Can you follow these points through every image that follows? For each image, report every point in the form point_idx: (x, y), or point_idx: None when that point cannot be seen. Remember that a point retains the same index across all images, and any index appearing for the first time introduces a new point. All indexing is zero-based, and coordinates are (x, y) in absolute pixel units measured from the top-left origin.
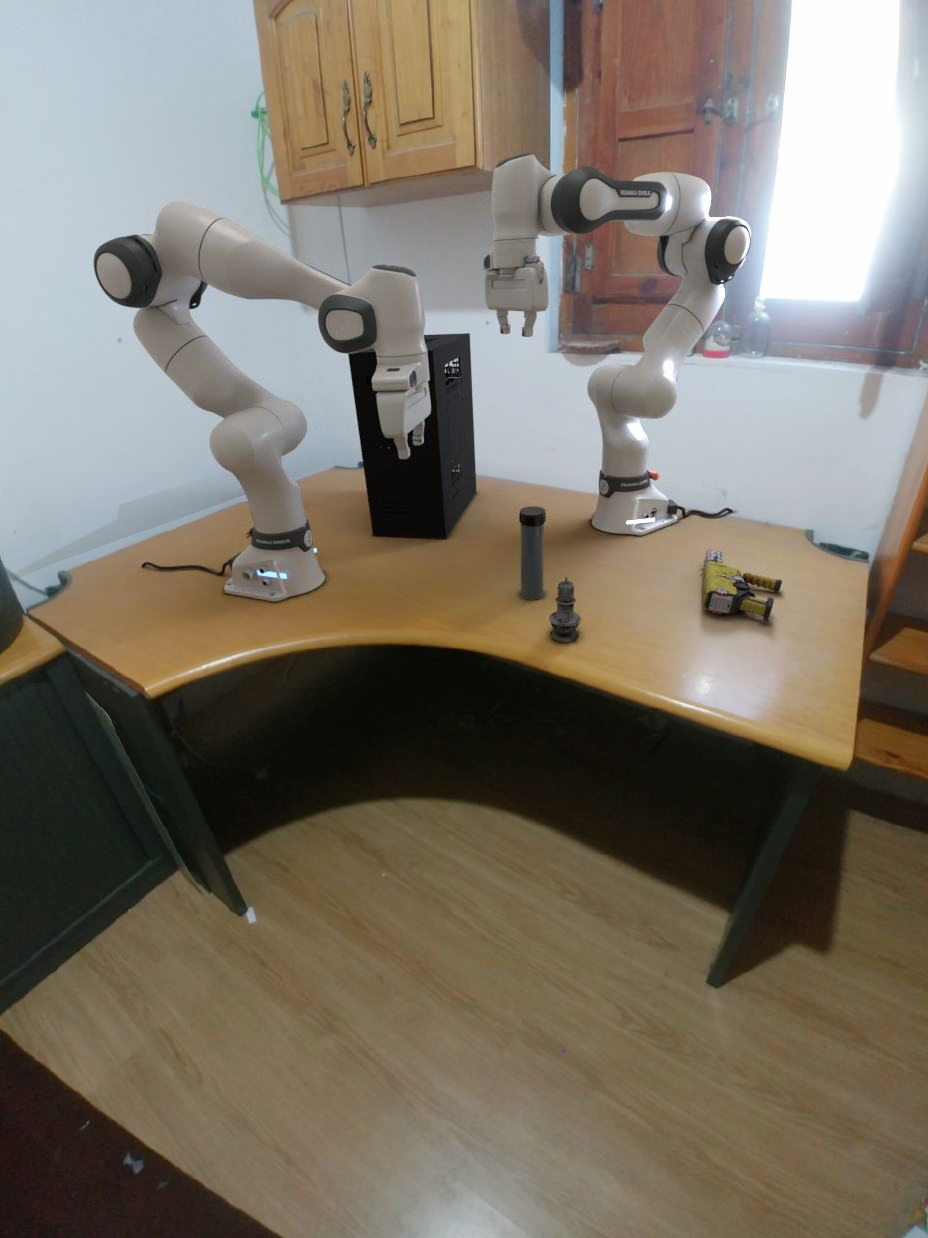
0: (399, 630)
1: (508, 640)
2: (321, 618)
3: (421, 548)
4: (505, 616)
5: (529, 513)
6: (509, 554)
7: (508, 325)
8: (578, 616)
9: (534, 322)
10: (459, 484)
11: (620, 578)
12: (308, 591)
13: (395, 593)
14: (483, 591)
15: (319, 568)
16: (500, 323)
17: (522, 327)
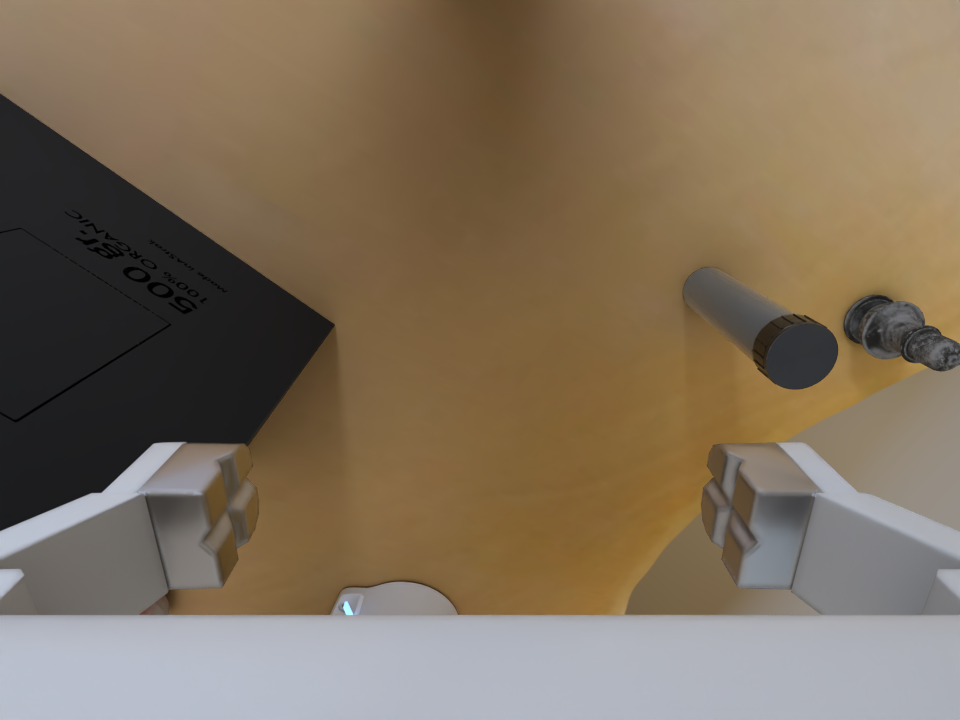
0: (669, 531)
1: (813, 405)
2: (559, 612)
3: (361, 392)
4: (743, 374)
5: (813, 374)
6: (500, 231)
7: (215, 513)
8: (910, 308)
9: (933, 525)
10: (133, 237)
11: (775, 62)
12: (457, 613)
13: (542, 500)
14: (633, 365)
15: (417, 605)
16: (146, 604)
17: (757, 586)
